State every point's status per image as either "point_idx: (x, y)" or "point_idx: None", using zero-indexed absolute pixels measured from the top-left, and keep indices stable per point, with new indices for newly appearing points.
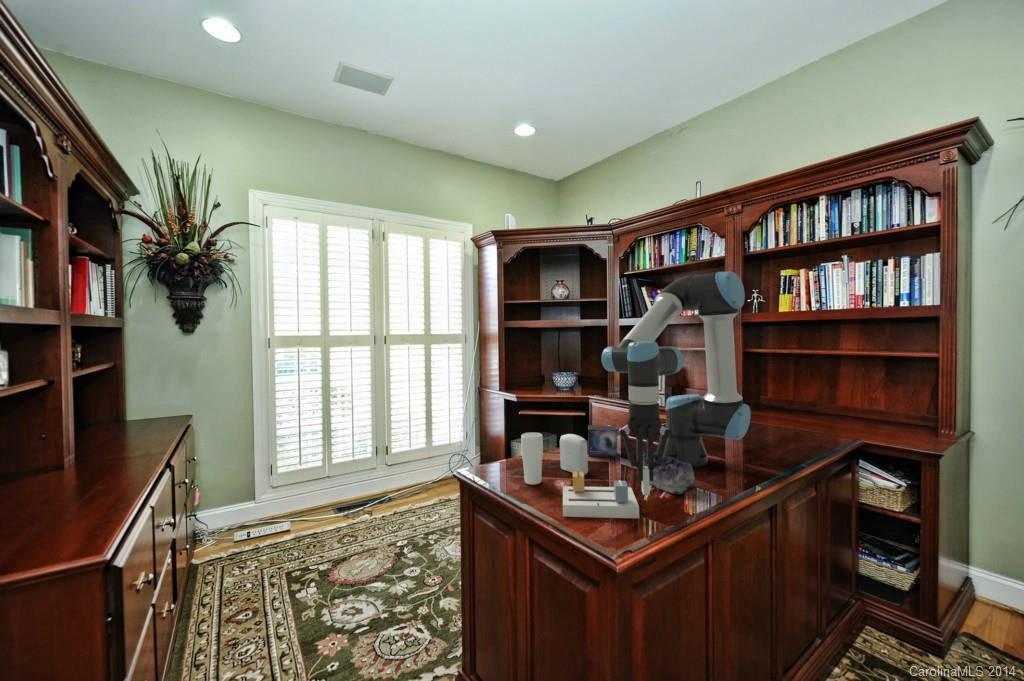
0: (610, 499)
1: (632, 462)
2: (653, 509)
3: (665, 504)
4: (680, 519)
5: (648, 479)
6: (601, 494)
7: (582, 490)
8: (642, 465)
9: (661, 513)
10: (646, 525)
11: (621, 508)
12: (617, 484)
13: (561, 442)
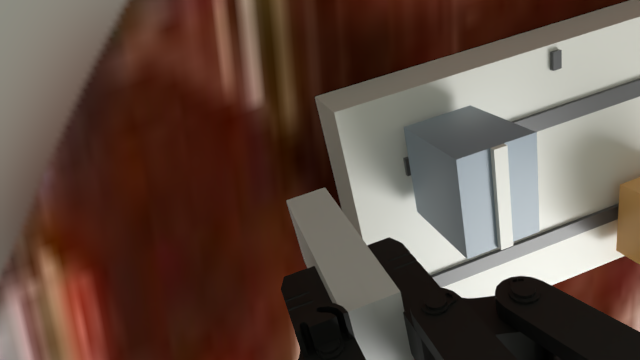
0: None
1: (546, 303)
2: (252, 235)
3: (200, 315)
4: (91, 168)
5: (321, 256)
6: None
7: (633, 182)
8: (425, 322)
9: (206, 204)
10: (268, 19)
11: (426, 78)
12: (522, 170)
13: None
